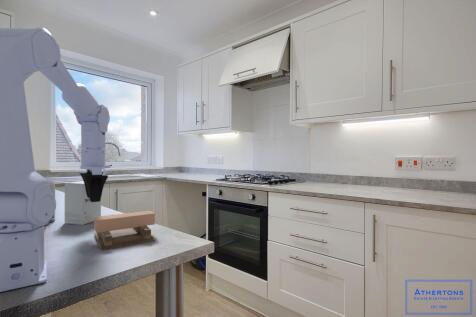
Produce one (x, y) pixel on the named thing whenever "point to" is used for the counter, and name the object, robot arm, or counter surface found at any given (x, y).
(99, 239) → the brown wooden stand
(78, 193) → the supplement box
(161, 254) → the counter surface
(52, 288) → the counter surface
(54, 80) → the robot arm
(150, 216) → the clay strip
